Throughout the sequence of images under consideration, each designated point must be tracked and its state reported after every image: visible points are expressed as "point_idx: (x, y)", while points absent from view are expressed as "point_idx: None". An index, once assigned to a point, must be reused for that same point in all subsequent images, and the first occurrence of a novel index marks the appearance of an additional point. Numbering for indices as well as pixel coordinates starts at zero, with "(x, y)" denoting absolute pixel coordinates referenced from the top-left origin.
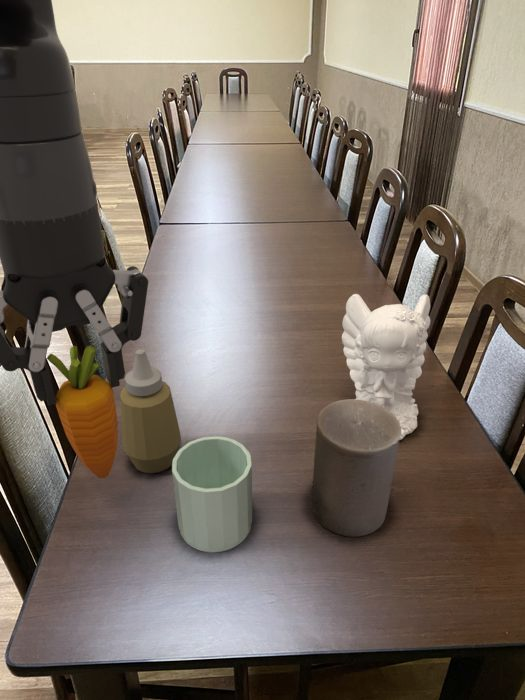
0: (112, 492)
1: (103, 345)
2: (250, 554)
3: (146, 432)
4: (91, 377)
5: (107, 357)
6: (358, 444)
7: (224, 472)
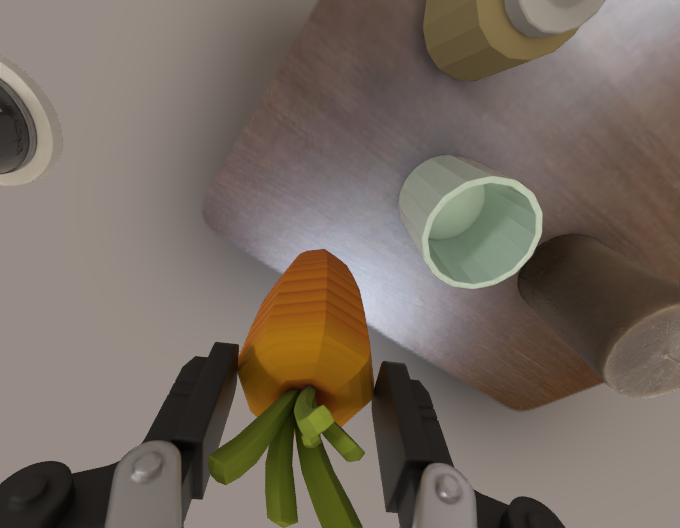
0: (370, 55)
1: (407, 474)
2: None
3: (466, 60)
4: (339, 392)
5: (385, 499)
6: (621, 380)
7: (498, 187)
